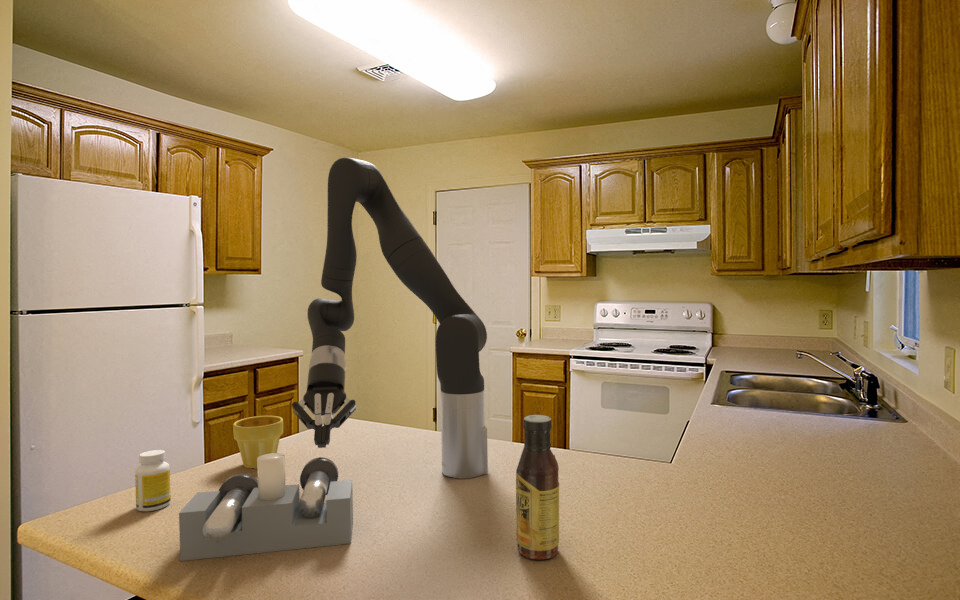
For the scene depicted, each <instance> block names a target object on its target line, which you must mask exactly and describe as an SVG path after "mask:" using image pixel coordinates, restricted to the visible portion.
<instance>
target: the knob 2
mask: <svg viewBox="0 0 960 600" xmlns="http://www.w3.org/2000/svg"><path fill="white" fill-rule="evenodd" d="M333 481H339V470H338V467H337V465H336V463H335V462H334V461H333V460H331V459H330V458H327V457H321V456H320V457H316V458H315V457H314V458H312V459H311V460H309V461H308V462H306V463H305V465H304V466H303V468H302V470H301V473H300V476H299V485H300V488H301V489H302V490H303V491H302V494H301V497H300V498H299V500H300V502H299V511H300V512H301V514H302V515H304V516H306V517H314V516H316V515H318V514H319V513H320V512H321V510H322V508H323V504H324V503H325V501H326V497H327V495H328V491H329V487H330V482H333Z"/></svg>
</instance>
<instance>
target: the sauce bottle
mask: <svg viewBox="0 0 960 600" xmlns="http://www.w3.org/2000/svg"><path fill="white" fill-rule="evenodd" d="M552 424H553V422H552V418H551V417H549V416H548V415H543V414H532V415H531V414H529V415H526V416H525V417H524V418H523V423H522V425H523V428H524V429H523V430H524V442H523V443H524V445H523V449H522V452H521V455H520V458H519V462H518V465H517V467H516V469H515V470H516V472H515V486H516V487H515V490H516V491H515V492H516V493H515V504H516V505H515V507H516V509H515V512H516V515H515V517H516V519H515V521H516V523H515V524H516V525H515V526H516V527H515V528H516V532H515V533H516V534H515V535H516V542H517V550H518V552H519V553H520V555H523V556H524V557H525V558H527V559H528V560H536V561H541V560H549V559H552V558H554V557H556V556H557V554H558V551H559V544H560V482H559V463H558V461H557V459H556V455H554V454H553V452H552V450H551V448H552V443H551V429H552V427H553V426H552Z"/></svg>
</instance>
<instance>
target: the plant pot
mask: <svg viewBox="0 0 960 600" xmlns="http://www.w3.org/2000/svg"><path fill="white" fill-rule="evenodd" d="M232 428H233V429H232V430H233V434H232V435H233V439H234V441H236V442H237V446H238V448H239V449H238V450H239V454H240V457H241V461H242V464H243V467H244V468H247V469H252V468H254V469H257V458H258V457H259V456H262V455H265V454H270V453H278V448H279V444H280V438H281V436H282V435H283V434H284V419H283V417H281V416H278V415H277V416H276V415H257V416H251V417H245V418H242V419H238V420H236V421H234V423H232Z"/></svg>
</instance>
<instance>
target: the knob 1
mask: <svg viewBox="0 0 960 600" xmlns="http://www.w3.org/2000/svg"><path fill="white" fill-rule="evenodd" d="M254 488H258V478H256V477H255V476H254V475H251V474H250V473H243V472H241V473H235V474H233V475H231V476H229V477H228V478H226V480H225V481H224V482H223V483H222V484H221V485H220V487H219V489H218V491H221V502H220V503H219V505H218V506H217V507H216V509H215V510H214V512H213V513H212V514H211V516H210V517H209V518H208V520H207V521H206V522H205V524H204V526H203V534H204V536H205V538H206V539H207V540H209V541H211V542H220V541H222V540H224V539H225V538H227V536H228V535H229V533H230V532H231V530H232V528H233V527H234V525H235V523H236V522H237V520H238V518H239V517H240V515H241V513H242V506H243V505H244V503H245V502H246V500H247V498H248V497H249V495H250V493H251V492H252V490H253V489H254Z"/></svg>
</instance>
